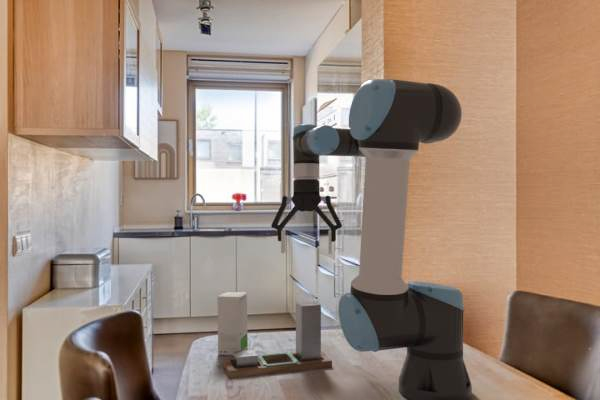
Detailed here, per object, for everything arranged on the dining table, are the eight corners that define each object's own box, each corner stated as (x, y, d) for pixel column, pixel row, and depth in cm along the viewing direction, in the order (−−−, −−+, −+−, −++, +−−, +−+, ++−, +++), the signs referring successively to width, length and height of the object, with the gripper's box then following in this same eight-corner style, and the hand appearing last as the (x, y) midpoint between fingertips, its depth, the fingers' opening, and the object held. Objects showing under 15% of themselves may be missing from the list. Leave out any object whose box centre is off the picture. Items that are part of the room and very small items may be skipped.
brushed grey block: (320, 365, 124) (320, 304, 124) (301, 367, 123) (301, 306, 123) (314, 359, 129) (314, 301, 129) (295, 360, 128) (295, 302, 128)
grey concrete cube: (257, 372, 120) (257, 355, 120) (237, 374, 118) (237, 357, 118) (253, 365, 124) (253, 349, 124) (233, 367, 123) (233, 351, 123)
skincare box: (240, 356, 131) (240, 297, 131) (215, 355, 132) (215, 296, 132) (248, 347, 139) (248, 291, 139) (225, 346, 140) (225, 290, 140)
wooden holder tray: (332, 366, 123) (332, 359, 123) (229, 377, 115) (229, 369, 115) (319, 355, 132) (319, 348, 132) (223, 364, 124) (223, 357, 124)
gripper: (350, 179, 146) (350, 252, 145) (266, 180, 149) (266, 251, 149) (349, 178, 138) (349, 254, 138) (261, 179, 142) (261, 253, 142)
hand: (306, 253), depth 144 cm, fingers open, 13 cm apart
